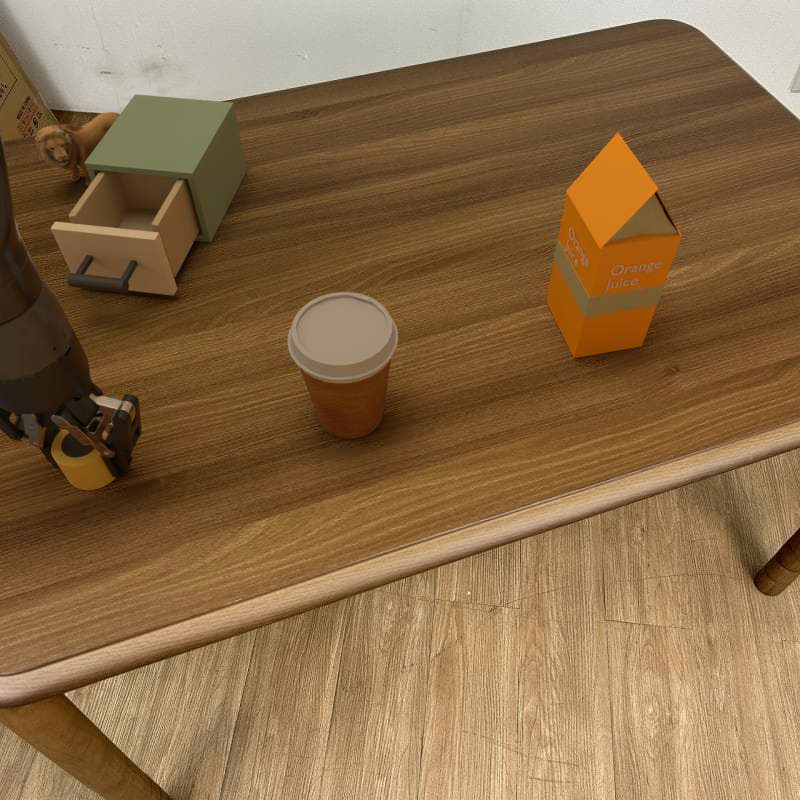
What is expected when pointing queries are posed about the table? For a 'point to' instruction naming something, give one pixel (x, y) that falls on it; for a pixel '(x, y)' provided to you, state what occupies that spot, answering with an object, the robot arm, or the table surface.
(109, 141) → the cabinet
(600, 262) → the orange juice
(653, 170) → the table surface
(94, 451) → the tape
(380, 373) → the disposable coffee cup
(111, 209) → the drawer
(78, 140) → the lion figurine
